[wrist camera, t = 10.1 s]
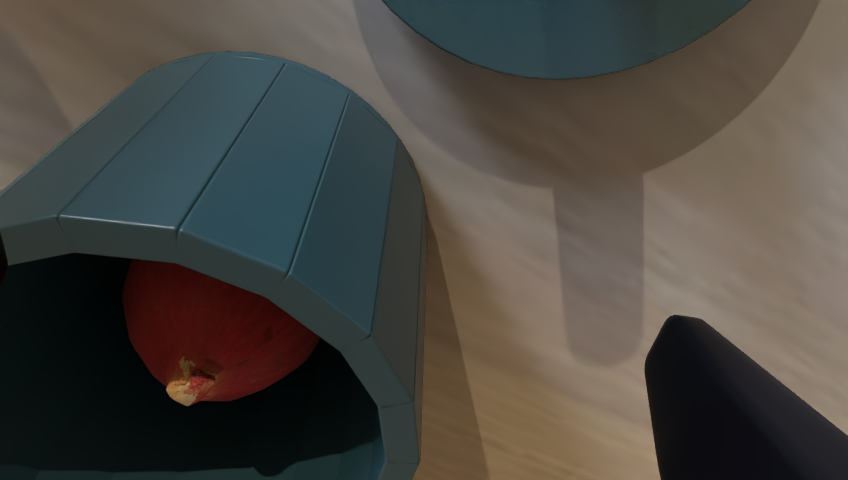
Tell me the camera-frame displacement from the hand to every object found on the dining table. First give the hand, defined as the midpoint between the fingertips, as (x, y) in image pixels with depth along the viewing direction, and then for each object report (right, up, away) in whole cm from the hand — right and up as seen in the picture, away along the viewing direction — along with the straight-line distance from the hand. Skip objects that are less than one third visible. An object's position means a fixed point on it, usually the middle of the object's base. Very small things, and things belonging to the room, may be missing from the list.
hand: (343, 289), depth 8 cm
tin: (-5, +1, +13) cm, 14 cm away
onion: (-4, +1, +13) cm, 14 cm away
